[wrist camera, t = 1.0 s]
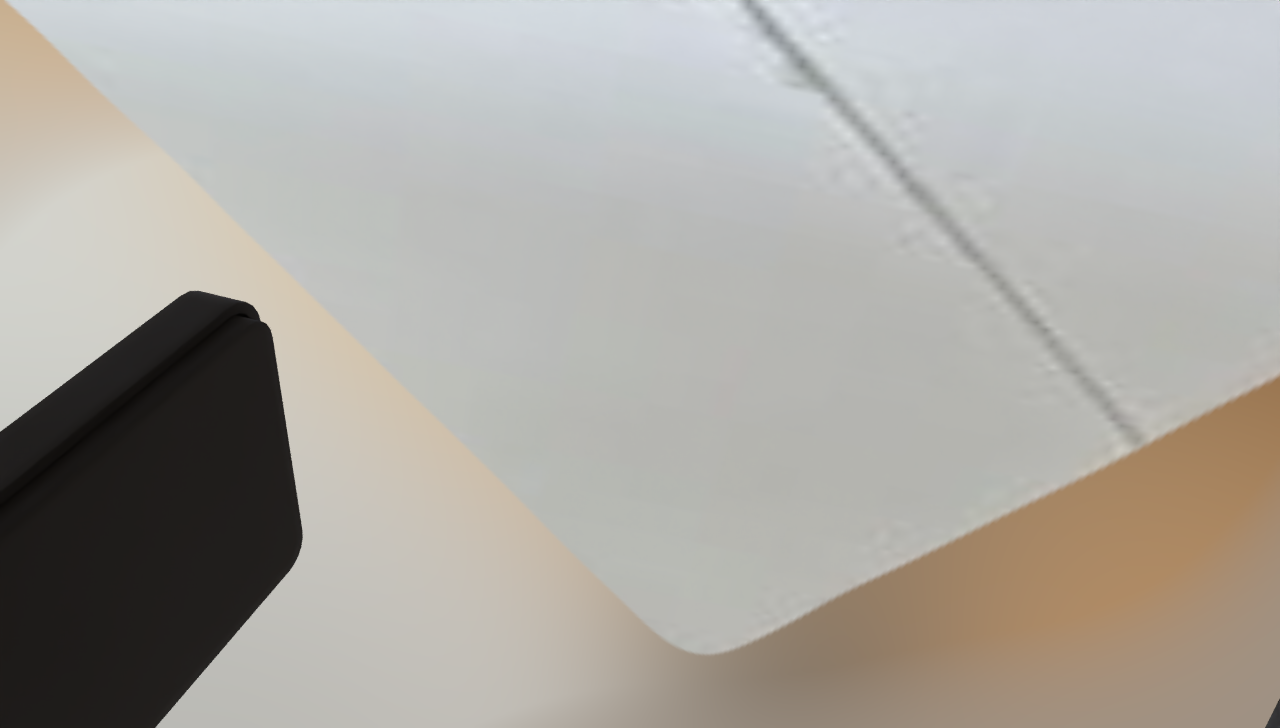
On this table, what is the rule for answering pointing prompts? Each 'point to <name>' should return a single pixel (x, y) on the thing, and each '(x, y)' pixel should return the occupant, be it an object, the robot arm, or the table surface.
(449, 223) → the table surface
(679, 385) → the table surface
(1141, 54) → the table surface
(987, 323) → the table surface
